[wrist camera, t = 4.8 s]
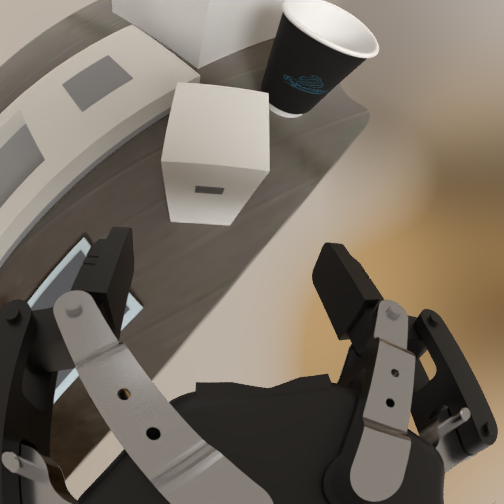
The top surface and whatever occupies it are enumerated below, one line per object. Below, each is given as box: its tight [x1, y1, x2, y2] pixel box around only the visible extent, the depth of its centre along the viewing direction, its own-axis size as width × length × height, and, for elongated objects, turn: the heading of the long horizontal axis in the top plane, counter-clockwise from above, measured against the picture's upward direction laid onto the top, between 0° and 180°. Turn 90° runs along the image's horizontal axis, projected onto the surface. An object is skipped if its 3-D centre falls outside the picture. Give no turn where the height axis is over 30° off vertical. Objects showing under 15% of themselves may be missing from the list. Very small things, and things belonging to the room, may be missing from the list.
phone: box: [27, 238, 144, 404], centre depth 16 cm, size 14×7×1 cm, turn 135°
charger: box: [161, 82, 270, 226], centre depth 16 cm, size 5×4×10 cm
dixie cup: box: [262, 0, 379, 118], centre depth 18 cm, size 8×8×11 cm
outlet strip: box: [0, 24, 200, 268], centre depth 16 cm, size 24×12×3 cm, turn 134°
